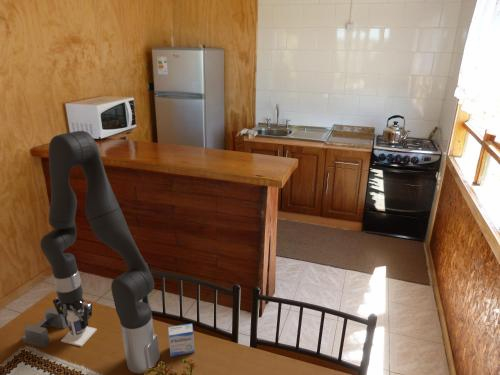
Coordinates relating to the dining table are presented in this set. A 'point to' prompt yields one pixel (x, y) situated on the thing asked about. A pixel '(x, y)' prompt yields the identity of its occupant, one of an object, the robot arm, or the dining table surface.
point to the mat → (79, 337)
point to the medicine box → (181, 339)
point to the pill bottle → (74, 324)
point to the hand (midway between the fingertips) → (77, 325)
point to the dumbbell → (43, 328)
